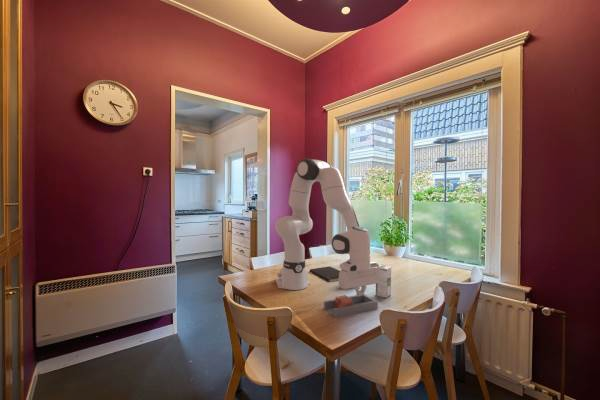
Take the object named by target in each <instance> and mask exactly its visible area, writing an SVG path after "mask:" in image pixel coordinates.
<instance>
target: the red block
mask: <svg viewBox="0 0 600 400" xmlns="http://www.w3.org/2000/svg"><path fill="white" fill-rule="evenodd" d="M335 299H336V302H335V308H340V307H345V306H350V305H353V304H352V299H351V298H349V295H346V294H344V295H338V296H335Z"/></svg>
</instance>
